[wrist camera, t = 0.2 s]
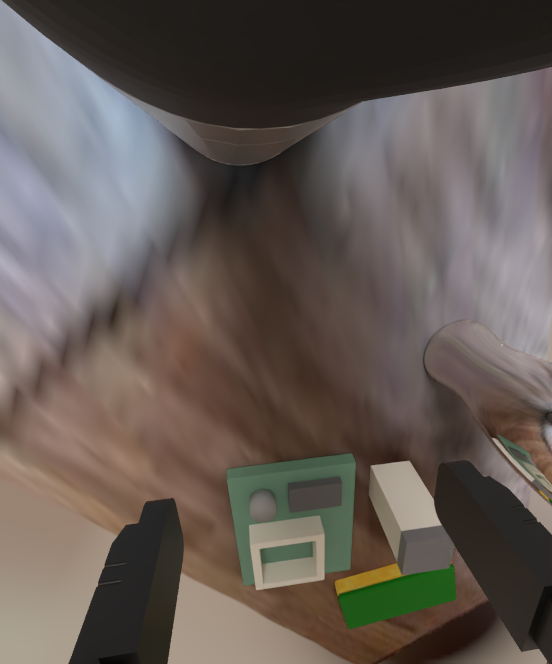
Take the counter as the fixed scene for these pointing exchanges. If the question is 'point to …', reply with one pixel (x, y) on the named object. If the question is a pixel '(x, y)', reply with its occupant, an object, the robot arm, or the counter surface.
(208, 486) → the counter surface
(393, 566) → the dish sponge
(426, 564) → the plug
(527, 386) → the beer glass
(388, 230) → the counter surface
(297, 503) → the board
